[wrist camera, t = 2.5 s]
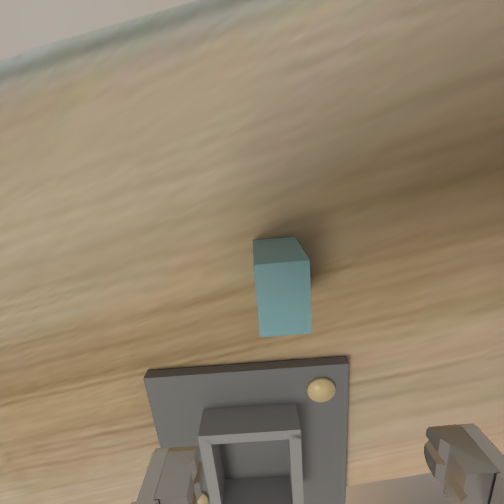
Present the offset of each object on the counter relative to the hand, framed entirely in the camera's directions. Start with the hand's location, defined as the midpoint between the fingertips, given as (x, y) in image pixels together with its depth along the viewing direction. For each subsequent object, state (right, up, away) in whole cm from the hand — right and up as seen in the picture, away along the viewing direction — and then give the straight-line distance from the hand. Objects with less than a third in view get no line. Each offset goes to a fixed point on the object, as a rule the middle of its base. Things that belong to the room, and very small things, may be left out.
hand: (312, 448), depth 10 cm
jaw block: (0, +5, +17) cm, 18 cm away
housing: (-2, -16, +24) cm, 29 cm away
